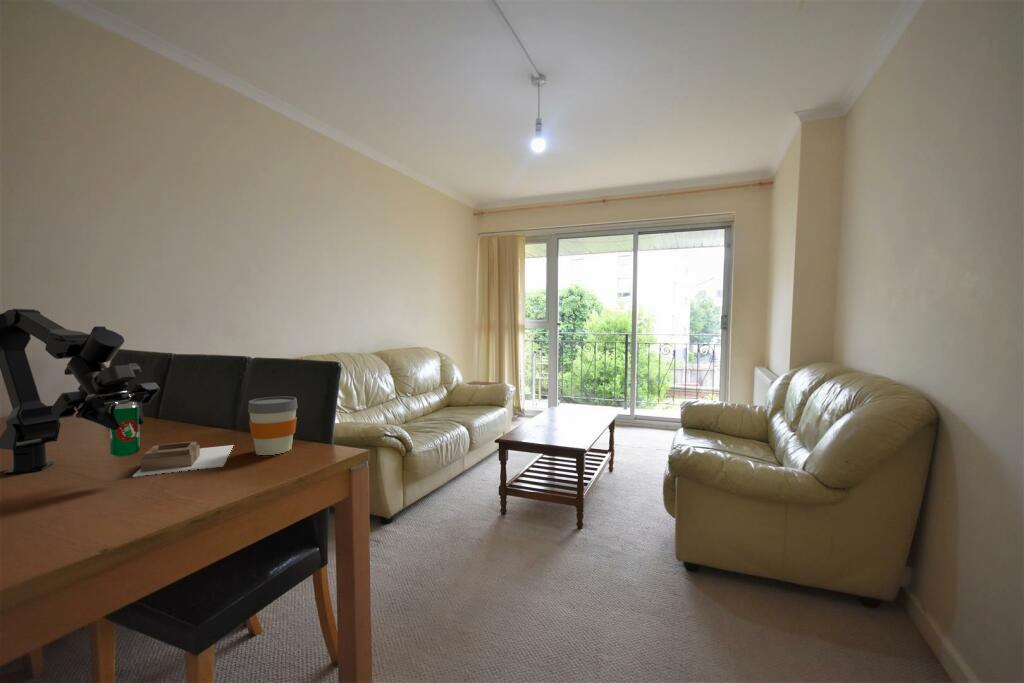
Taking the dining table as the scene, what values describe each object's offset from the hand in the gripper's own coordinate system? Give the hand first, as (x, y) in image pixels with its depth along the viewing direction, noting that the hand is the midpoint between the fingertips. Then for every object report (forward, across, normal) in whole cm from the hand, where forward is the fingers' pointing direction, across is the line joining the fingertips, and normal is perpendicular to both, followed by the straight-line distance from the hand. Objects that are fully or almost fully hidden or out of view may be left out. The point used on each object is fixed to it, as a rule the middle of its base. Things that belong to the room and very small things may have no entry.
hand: (129, 426), depth 97 cm
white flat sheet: (+7, +16, +12) cm, 21 cm away
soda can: (+4, 0, +6) cm, 7 cm away
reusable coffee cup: (+18, +29, +1) cm, 34 cm away
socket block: (+7, +12, +12) cm, 18 cm away
